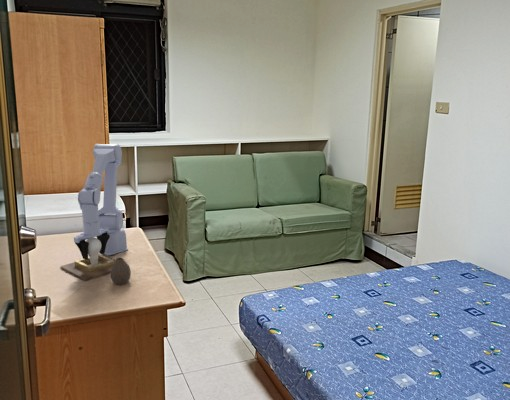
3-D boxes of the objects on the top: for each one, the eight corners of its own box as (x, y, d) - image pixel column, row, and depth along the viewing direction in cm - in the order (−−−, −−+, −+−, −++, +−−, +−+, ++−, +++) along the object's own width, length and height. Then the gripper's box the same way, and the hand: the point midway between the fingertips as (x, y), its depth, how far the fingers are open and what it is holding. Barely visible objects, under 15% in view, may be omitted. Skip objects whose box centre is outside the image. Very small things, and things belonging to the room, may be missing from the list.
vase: (109, 280, 175) (107, 256, 173) (129, 277, 177) (128, 254, 175) (112, 287, 169) (110, 263, 166) (132, 284, 171) (131, 260, 169)
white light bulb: (99, 269, 183) (96, 240, 180) (83, 268, 183) (80, 240, 180) (105, 263, 189) (103, 235, 186) (90, 262, 189) (87, 235, 186)
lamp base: (103, 255, 198) (103, 253, 198) (129, 267, 187) (128, 265, 187) (60, 268, 185) (60, 266, 185) (85, 281, 174) (85, 279, 174)
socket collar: (99, 258, 193) (99, 253, 193) (114, 265, 186) (114, 260, 186) (74, 266, 186) (74, 261, 185) (89, 273, 179) (88, 268, 178)
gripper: (99, 215, 190) (102, 248, 193) (67, 224, 178) (70, 259, 181) (112, 217, 186) (114, 251, 189) (79, 227, 174) (82, 263, 177)
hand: (93, 255), depth 185 cm, fingers open, 7 cm apart
